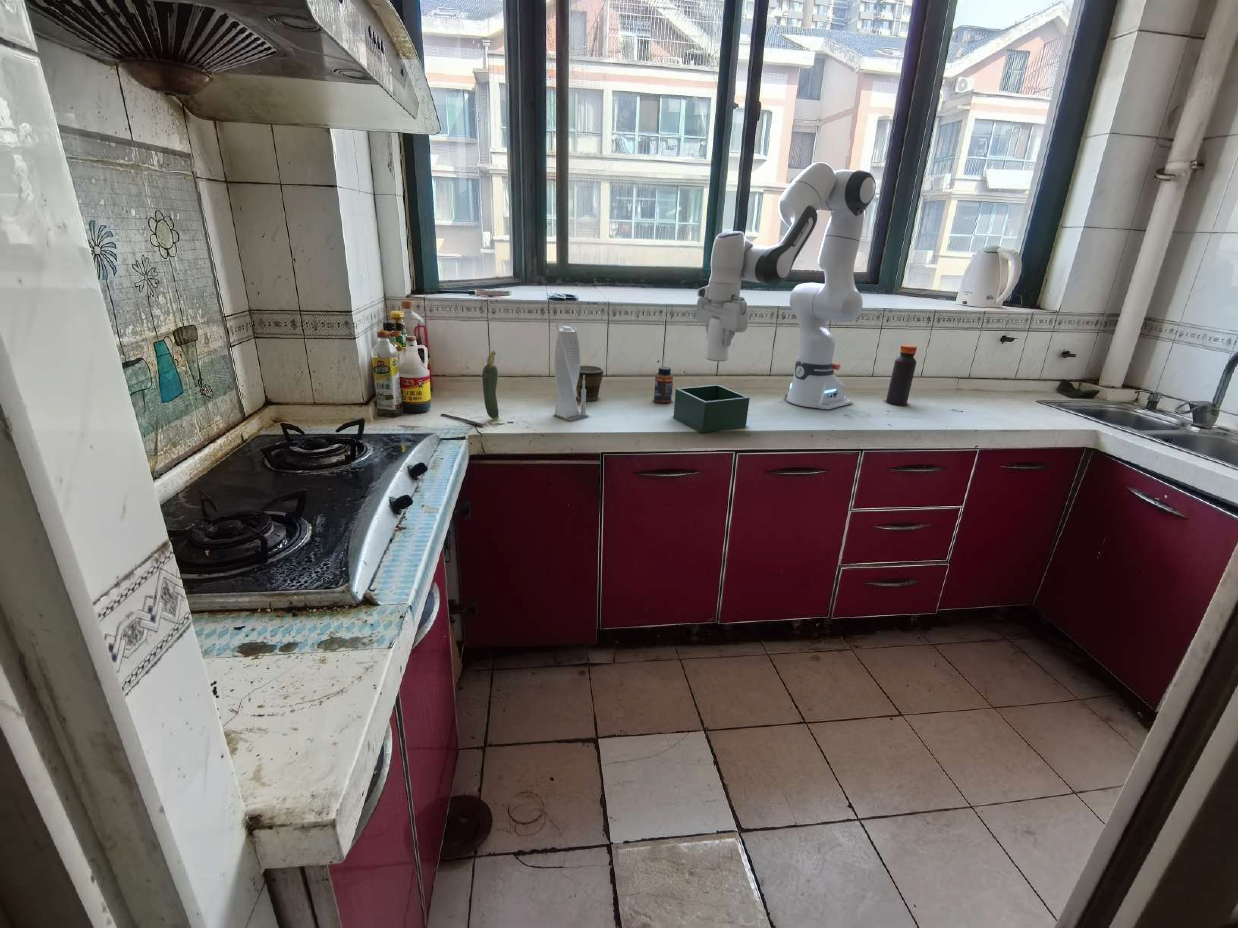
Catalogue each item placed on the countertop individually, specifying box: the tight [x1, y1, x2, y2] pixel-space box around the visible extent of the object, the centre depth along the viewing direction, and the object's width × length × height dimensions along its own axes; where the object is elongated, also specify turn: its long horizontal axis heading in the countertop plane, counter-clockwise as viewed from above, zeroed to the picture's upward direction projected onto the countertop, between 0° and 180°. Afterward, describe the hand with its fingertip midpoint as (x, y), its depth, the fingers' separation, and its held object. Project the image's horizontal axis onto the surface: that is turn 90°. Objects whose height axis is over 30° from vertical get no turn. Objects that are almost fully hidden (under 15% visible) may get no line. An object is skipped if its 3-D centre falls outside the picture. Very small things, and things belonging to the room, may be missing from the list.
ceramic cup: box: [575, 365, 604, 402], centre depth 193 cm, size 13×10×10 cm
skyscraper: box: [553, 321, 588, 422], centre depth 172 cm, size 8×8×28 cm
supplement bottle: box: [653, 366, 674, 404], centre depth 195 cm, size 6×6×11 cm
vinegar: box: [885, 344, 918, 406], centre depth 204 cm, size 7×7×20 cm
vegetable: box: [481, 350, 500, 421], centre depth 167 cm, size 4×4×20 cm
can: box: [705, 316, 731, 362], centre depth 169 cm, size 6×6×12 cm
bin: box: [673, 384, 751, 434], centre depth 176 cm, size 16×16×9 cm
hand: (718, 343), depth 170 cm, fingers closed on can, 6 cm apart
